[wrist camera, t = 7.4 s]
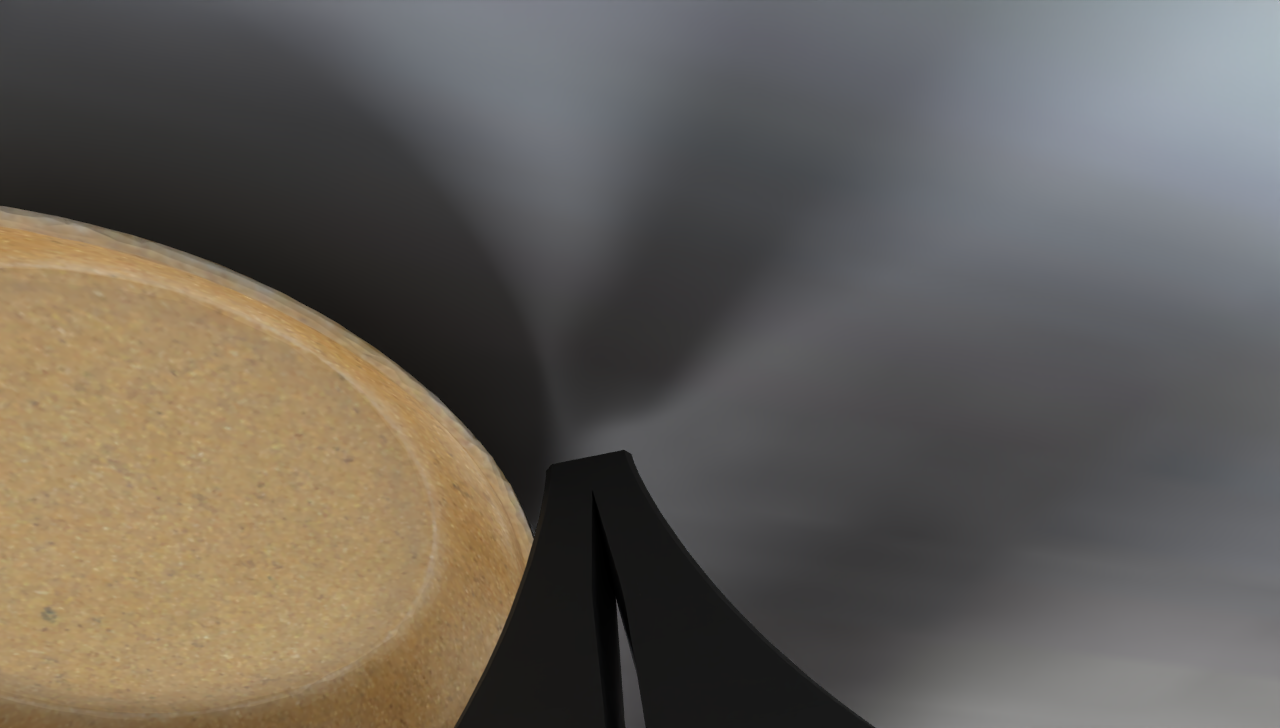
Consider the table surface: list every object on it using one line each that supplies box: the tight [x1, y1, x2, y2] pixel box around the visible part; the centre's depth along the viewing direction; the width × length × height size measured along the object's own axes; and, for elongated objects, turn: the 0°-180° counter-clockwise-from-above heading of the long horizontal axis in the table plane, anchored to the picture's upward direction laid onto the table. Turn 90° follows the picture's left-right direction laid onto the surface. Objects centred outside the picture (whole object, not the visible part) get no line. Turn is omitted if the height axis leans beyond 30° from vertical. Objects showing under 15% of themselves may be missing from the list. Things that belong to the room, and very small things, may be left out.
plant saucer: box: [0, 206, 534, 728], centre depth 14 cm, size 15×15×3 cm
